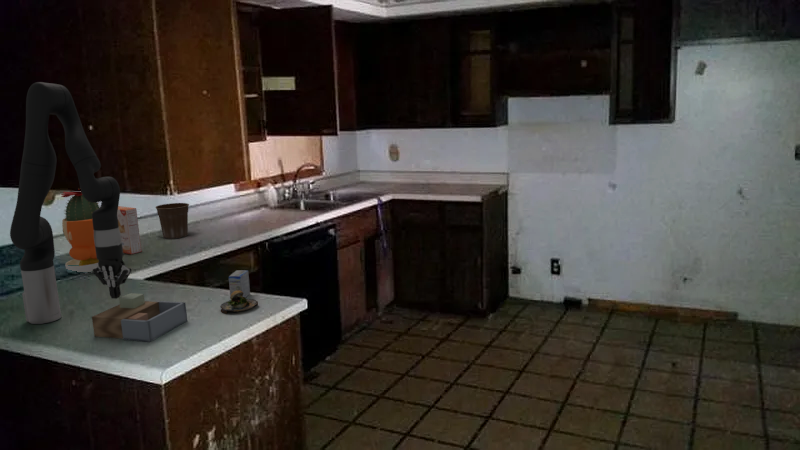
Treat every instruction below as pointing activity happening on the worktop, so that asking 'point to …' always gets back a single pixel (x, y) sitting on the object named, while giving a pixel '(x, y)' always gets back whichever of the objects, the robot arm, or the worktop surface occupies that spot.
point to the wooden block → (120, 318)
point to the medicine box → (239, 282)
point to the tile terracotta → (139, 316)
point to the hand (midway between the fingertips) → (115, 297)
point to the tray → (155, 322)
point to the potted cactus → (80, 232)
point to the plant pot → (173, 219)
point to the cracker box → (129, 230)
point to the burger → (238, 303)
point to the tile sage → (131, 300)
